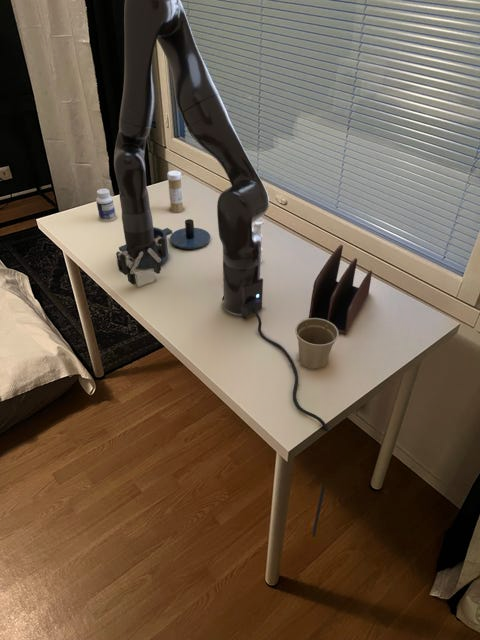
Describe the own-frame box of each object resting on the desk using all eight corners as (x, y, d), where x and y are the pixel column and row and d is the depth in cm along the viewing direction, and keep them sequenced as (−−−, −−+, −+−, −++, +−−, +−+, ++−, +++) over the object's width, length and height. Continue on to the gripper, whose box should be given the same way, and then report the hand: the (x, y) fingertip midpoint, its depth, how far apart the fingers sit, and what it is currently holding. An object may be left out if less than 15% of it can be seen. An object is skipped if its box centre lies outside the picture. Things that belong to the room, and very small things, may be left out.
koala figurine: (256, 251, 151) (257, 215, 144) (271, 260, 147) (273, 223, 140) (234, 261, 147) (234, 224, 139) (250, 270, 143) (250, 233, 135)
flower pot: (329, 346, 117) (334, 317, 112) (337, 374, 110) (342, 344, 105) (290, 346, 117) (292, 318, 112) (295, 375, 110) (298, 345, 104)
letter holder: (307, 324, 124) (312, 276, 115) (333, 284, 137) (340, 239, 129) (345, 336, 120) (354, 288, 111) (369, 294, 134) (378, 248, 125)
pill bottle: (99, 215, 169) (93, 188, 163) (114, 213, 171) (110, 186, 164) (100, 222, 165) (95, 195, 159) (116, 220, 167) (112, 193, 160)
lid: (218, 240, 156) (218, 221, 152) (187, 255, 149) (185, 235, 145) (193, 226, 163) (192, 208, 159) (162, 239, 156) (160, 220, 152)
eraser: (154, 281, 138) (153, 270, 136) (138, 286, 136) (136, 275, 134) (152, 279, 139) (151, 268, 137) (136, 284, 137) (134, 273, 135)
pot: (183, 255, 149) (181, 233, 144) (135, 277, 140) (132, 254, 135) (160, 241, 156) (158, 220, 151) (113, 261, 146) (109, 239, 142)
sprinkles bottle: (178, 205, 175) (176, 168, 167) (186, 210, 173) (183, 172, 164) (167, 209, 173) (164, 172, 165) (175, 214, 170) (172, 176, 162)
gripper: (152, 210, 133) (158, 263, 143) (105, 228, 125) (115, 282, 135) (169, 220, 128) (174, 274, 139) (121, 239, 121) (130, 294, 131)
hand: (145, 278), depth 137 cm, fingers open, 7 cm apart
